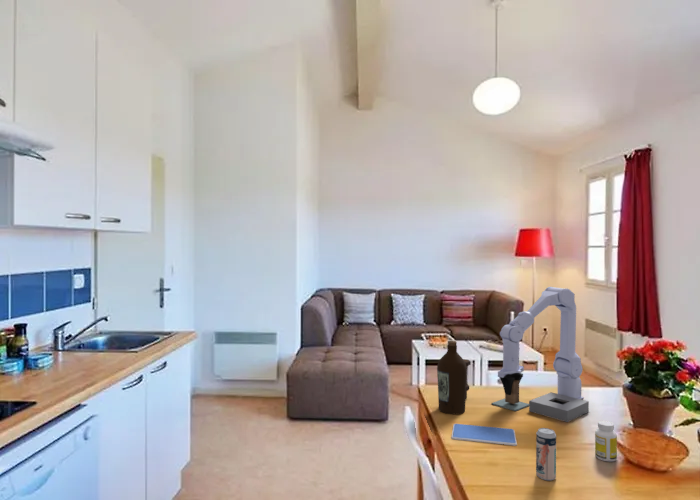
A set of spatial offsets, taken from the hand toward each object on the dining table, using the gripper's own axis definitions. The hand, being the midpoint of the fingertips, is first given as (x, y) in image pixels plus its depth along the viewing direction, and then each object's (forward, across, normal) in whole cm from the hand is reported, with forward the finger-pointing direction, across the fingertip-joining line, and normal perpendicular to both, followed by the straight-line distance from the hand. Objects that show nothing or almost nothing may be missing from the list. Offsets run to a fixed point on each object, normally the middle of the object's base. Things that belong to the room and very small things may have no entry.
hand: (510, 393), depth 180 cm
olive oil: (+5, -22, +11) cm, 25 cm away
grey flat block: (+4, +7, -15) cm, 17 cm away
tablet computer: (+5, -32, -10) cm, 34 cm away
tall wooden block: (+3, 0, 0) cm, 3 cm away
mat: (+4, 0, 0) cm, 4 cm away
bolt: (+5, -8, +16) cm, 18 cm away
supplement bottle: (+5, -20, -42) cm, 47 cm away
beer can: (+5, -44, -37) cm, 58 cm away
